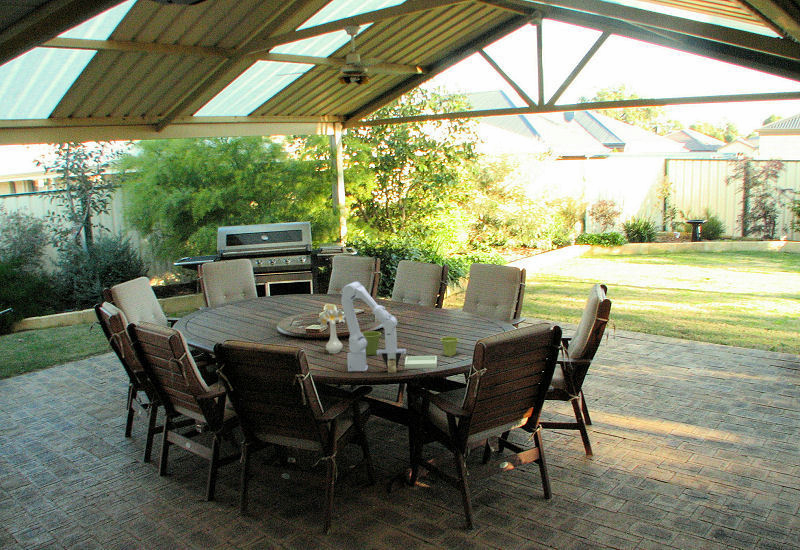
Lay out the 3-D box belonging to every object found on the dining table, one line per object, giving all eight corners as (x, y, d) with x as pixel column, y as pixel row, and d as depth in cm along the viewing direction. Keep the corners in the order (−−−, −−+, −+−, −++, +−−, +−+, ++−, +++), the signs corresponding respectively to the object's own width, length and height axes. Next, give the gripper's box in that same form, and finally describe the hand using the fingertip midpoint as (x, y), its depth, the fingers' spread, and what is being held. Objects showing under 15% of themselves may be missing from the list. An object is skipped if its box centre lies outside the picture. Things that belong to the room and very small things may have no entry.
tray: (404, 369, 313) (404, 364, 313) (406, 361, 327) (406, 356, 327) (436, 368, 312) (436, 363, 312) (436, 360, 326) (436, 355, 326)
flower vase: (316, 356, 343) (313, 311, 340) (331, 347, 360) (328, 305, 357) (337, 357, 339) (335, 312, 335) (352, 348, 356) (349, 305, 352)
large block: (384, 363, 325) (384, 352, 324) (385, 360, 331) (385, 349, 330) (396, 363, 324) (395, 351, 324) (397, 359, 330) (396, 348, 330)
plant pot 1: (379, 356, 337) (378, 336, 336) (358, 356, 340) (356, 336, 338) (384, 350, 349) (383, 331, 347) (363, 350, 351) (362, 331, 349)
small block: (388, 372, 309) (387, 360, 308) (388, 370, 313) (388, 358, 312) (396, 372, 309) (395, 360, 308) (396, 369, 313) (396, 358, 312)
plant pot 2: (456, 351, 341) (455, 336, 339) (460, 356, 332) (460, 340, 330) (439, 353, 339) (439, 337, 338) (443, 357, 330) (442, 341, 329)
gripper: (375, 343, 305) (376, 370, 307) (405, 343, 304) (406, 370, 306) (376, 340, 312) (378, 366, 314) (406, 339, 311) (407, 365, 313)
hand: (392, 368), depth 310 cm, fingers closed on small block, 4 cm apart
